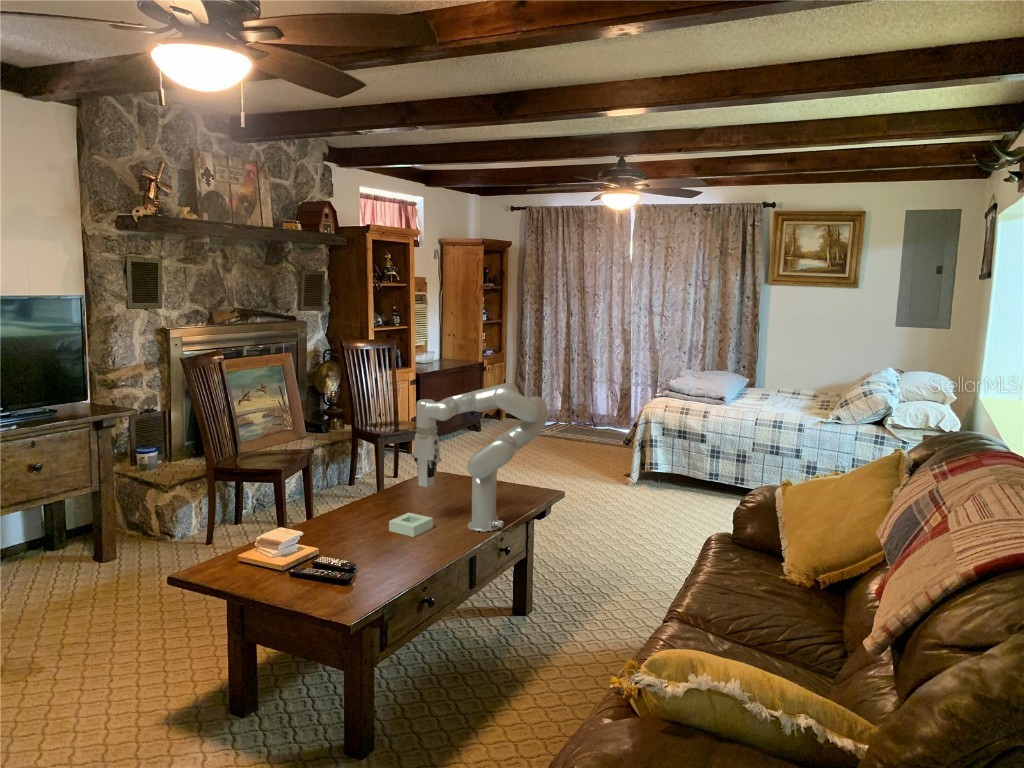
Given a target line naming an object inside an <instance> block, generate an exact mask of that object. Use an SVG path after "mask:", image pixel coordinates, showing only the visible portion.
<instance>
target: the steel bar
mask: <svg viewBox="0 0 1024 768" xmlns="http://www.w3.org/2000/svg"><path fill="white" fill-rule="evenodd" d="M428 468H430V467H429V462H428V460H426V459H420V458H418V466H417V479H418V483H417V484H418V486H420V487H425V488H429V487H431V486H434V485H435V476H434V477H431V478H428Z"/></svg>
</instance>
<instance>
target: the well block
mask: <svg viewBox="0 0 1024 768" xmlns="http://www.w3.org/2000/svg"><path fill="white" fill-rule="evenodd" d="M388 525H389V526H388V527H389V528H388V530H389V532H392V533H396V534H401V535H405V536H409V537H413V538H414V537H416V536H419V535H421V534H424V533H425V532H427V531H429V530H431V529H433V528H434V517H431V516H426V515H422V514H417V513H412V512H407V513H404V514H402V515H400V516H397V517H395V518H393V519H391V520H389V521H388Z"/></svg>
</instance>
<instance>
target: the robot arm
mask: <svg viewBox="0 0 1024 768" xmlns="http://www.w3.org/2000/svg"><path fill="white" fill-rule="evenodd" d="M546 403H547V402H546V401H545V400H544V399H543V398H542V397H540V396H531V397H529V398H528V397H526V396H524V395H523V394H521V393H520V392H519V389H518V387H517V386H516V384H513V383H510V382H505V383H501V384H497V385H493V386H489V387H486V388H485V387H484V388H480V389H477V390H472V391H470V392H465V393H461V394H458V395H453V396H449V397H445V398H444V399H442V400H440V401H435V400H434V399H429V398H428V399H427V398H426V399H425V398H424V399H419V400H417V401H416V414H415V415H416V417H415V418H416V433H415V434H414V441H413V452H412V454H411V455H410V456H411V458H412V459H413V460H414V462H415V465H416V466H417V467H418V458H420V459H426V460H428V462H429V467H430V468H428V478H431V477H434V478H435V468H436V466H437V465H438V464H439V463H441V462H442V458H441V457H440V456H441V454H440V453H441V451H440V441H439V437H438V434H437V433H438V429H437V427H436V426H437V423H436V422H437V421H440V422H444V421H447V420H450V419H451V418H452V417H453V416H456V415H460V414H463V413H468V412H478V413H482V412H487V411H490V410H494V409H500V410H503V411H504V412H506V413H508V414H509V415H511V416H514V417H515V418H517V419H519V420H520V421H519V422H517V423H516V424H514V425H513V427H512V426H511V428H510V429H508V430H506V431H505V432H503V433H501V434H500V435H498V436H497V437H496V438H495V439H494V440H493V441H492V442H490V443H489V444H488V445H486V446H485V447H481V448H479V449H478V450H476V451H475V452H474V453H473V454H472V455H471V457H470V458H469V459H468V460H467V464H466V465H467V466H466V469H467V472H468V474H469V475H470V476H471V478H472V479H471V483H472V484H471V521H469V522H468V523H467V528H468V529H469V530H471V531H473V530H474V532H478V531H480V533H488V532H487V531H490V532H494V531H493V530H495V531H496V530H498V529H500V528H501V529H502V528H503V527H504V524H505V523H504V520H500V519H499V515H497V477H498V476H497V475H498V470H499V469H500V468H502V467H504V466H505V465H506V464H508V463H509V462H510V461H512V459H513V458H514V457H515V455H516V453H518V451H519V450H520V449H522V448H523V447H525V446H526V445H527V444H529V443H530V442H531V441H533V440H534V439H536V437H537V436H538V435H540V433H542V431H543V429H544V428H545V426H546V423H547V420H548V415H549V414H548V411H549V410H548V405H547V404H546Z"/></svg>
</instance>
